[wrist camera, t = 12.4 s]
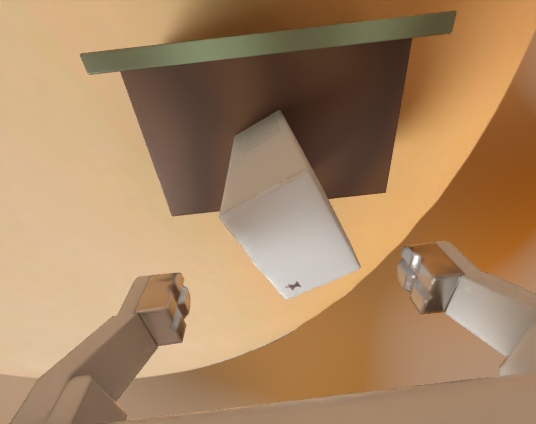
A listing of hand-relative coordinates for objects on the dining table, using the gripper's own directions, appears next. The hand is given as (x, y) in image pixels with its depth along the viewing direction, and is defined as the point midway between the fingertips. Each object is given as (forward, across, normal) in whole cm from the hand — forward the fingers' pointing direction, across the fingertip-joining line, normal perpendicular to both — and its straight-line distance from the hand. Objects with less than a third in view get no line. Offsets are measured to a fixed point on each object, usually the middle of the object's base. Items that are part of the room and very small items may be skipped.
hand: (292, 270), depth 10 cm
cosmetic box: (+14, 0, 0) cm, 14 cm away
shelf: (+22, -1, -1) cm, 23 cm away
